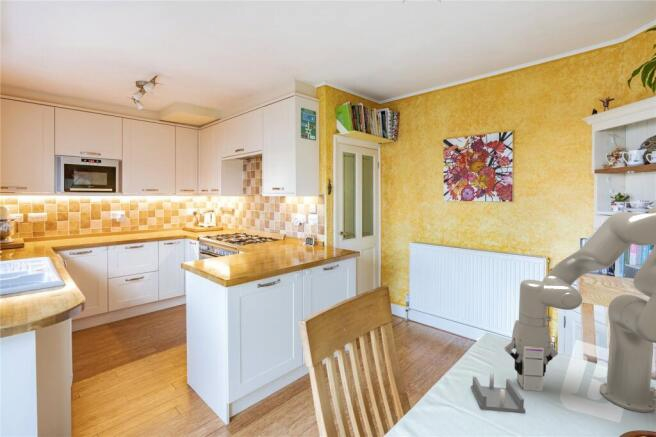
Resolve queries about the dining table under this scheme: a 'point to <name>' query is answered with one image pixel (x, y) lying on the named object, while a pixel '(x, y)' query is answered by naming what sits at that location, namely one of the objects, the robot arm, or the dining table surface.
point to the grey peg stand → (498, 396)
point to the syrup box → (532, 368)
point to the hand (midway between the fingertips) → (529, 372)
